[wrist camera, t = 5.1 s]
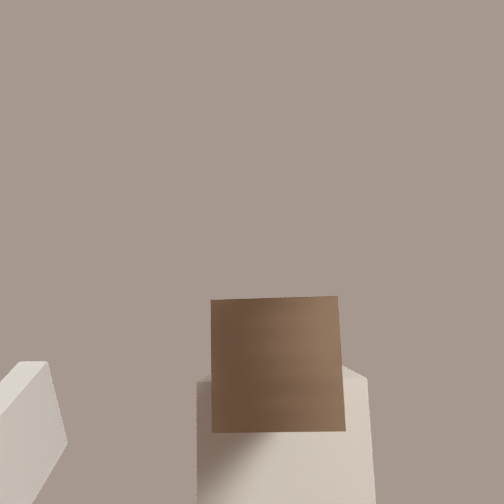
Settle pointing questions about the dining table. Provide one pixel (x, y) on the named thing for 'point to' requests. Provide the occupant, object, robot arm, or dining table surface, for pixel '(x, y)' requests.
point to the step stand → (288, 458)
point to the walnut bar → (276, 365)
